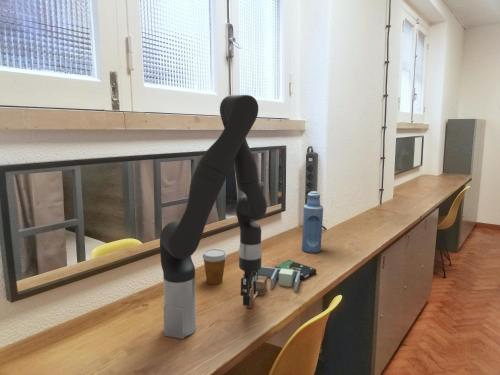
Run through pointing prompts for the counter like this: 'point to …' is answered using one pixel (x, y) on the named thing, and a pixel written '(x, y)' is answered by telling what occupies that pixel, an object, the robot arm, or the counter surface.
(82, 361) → the counter surface
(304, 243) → the bottle
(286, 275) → the block
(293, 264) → the disk drive
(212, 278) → the disposable coffee cup
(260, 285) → the block with brown handle
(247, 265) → the robot arm
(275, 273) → the lane rack
